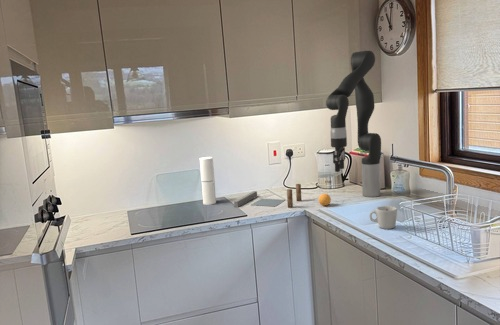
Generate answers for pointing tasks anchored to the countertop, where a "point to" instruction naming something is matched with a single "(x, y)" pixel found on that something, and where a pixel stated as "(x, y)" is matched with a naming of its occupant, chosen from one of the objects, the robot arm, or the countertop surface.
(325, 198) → the ball
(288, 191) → the post
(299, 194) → the post
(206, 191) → the cylindrical container
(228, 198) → the countertop surface
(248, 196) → the stopper wall
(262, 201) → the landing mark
